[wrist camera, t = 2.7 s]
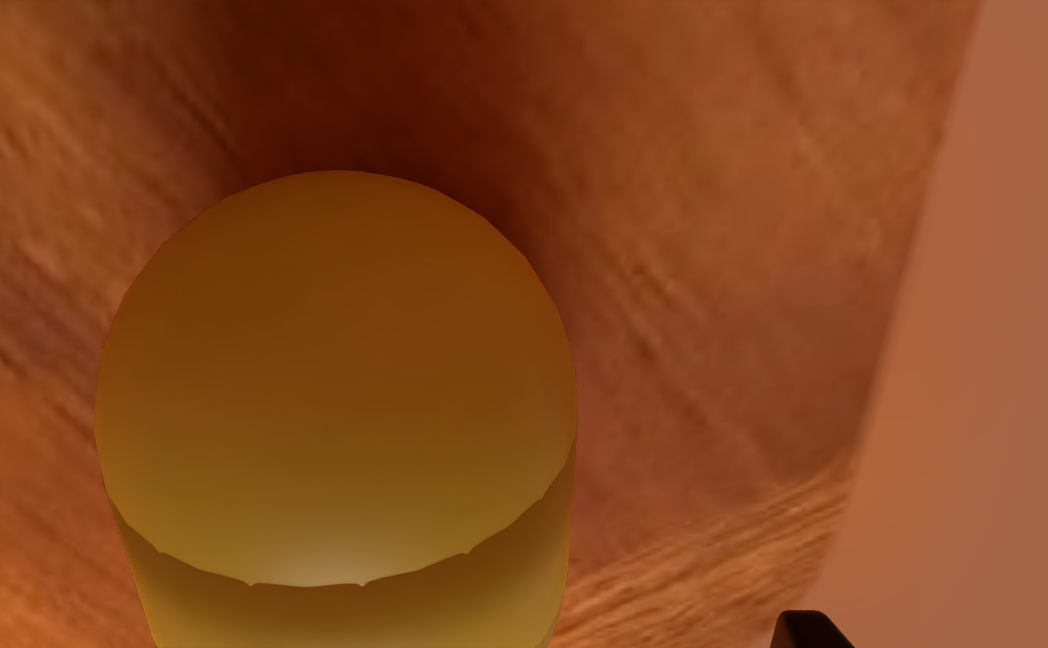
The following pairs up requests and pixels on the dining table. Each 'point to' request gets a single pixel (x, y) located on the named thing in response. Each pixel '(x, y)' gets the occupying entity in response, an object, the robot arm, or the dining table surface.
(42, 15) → the dining table surface
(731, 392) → the dining table surface
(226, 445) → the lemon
